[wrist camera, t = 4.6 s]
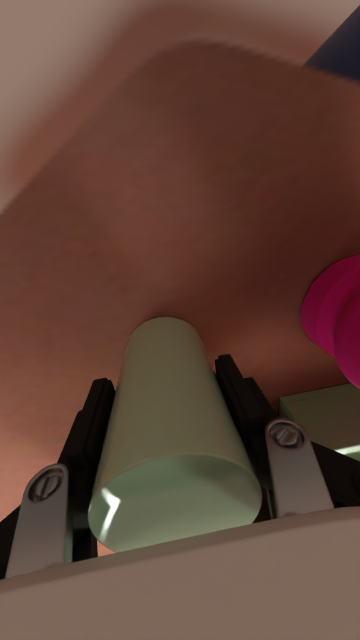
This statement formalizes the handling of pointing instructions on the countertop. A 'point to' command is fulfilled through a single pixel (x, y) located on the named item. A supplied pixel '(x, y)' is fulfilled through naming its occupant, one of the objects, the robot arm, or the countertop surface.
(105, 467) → the pale green plastic cylinder
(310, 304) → the pepper mill
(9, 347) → the countertop surface
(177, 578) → the robot arm
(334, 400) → the sage bin
